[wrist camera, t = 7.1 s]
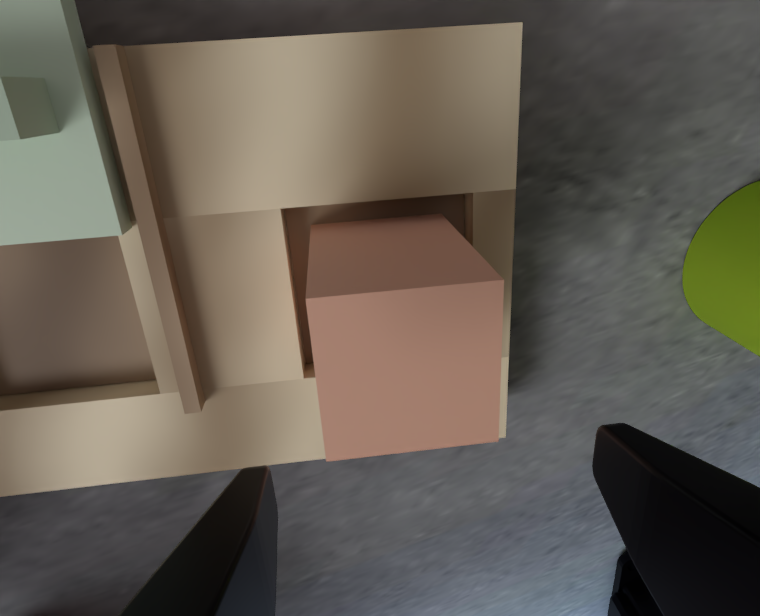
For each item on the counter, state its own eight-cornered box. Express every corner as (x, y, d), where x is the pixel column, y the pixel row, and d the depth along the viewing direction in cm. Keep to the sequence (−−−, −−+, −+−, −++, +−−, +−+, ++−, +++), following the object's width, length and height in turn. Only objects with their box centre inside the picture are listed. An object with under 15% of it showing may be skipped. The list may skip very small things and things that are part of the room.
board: (498, 30, 15) (531, 19, 13) (488, 405, 20) (511, 447, 18) (-161, 69, 14) (-260, 66, 12) (7, 460, 19) (-38, 513, 17)
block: (441, 213, 16) (504, 279, 11) (443, 330, 18) (498, 441, 12) (311, 225, 16) (305, 298, 10) (324, 342, 17) (326, 461, 12)
